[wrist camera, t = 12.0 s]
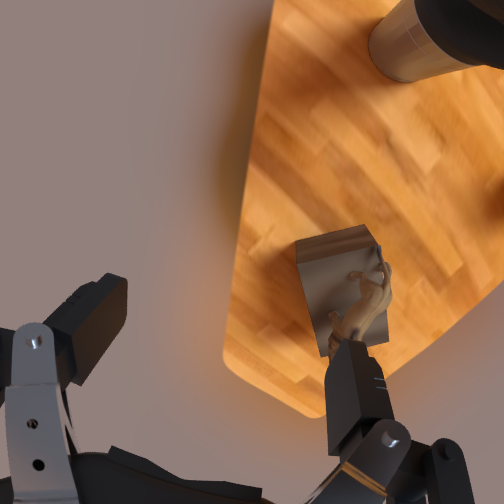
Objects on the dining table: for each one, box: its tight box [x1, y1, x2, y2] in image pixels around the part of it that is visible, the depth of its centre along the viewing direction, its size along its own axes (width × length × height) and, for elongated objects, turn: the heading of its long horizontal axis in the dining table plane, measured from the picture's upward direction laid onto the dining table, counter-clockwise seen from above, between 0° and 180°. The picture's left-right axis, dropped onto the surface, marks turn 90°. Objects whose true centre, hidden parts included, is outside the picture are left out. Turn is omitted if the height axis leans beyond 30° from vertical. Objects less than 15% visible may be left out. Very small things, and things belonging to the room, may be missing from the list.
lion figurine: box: [328, 245, 392, 365], centre depth 34 cm, size 15×5×9 cm, turn 167°
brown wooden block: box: [296, 224, 389, 357], centre depth 42 cm, size 15×10×8 cm, turn 17°
